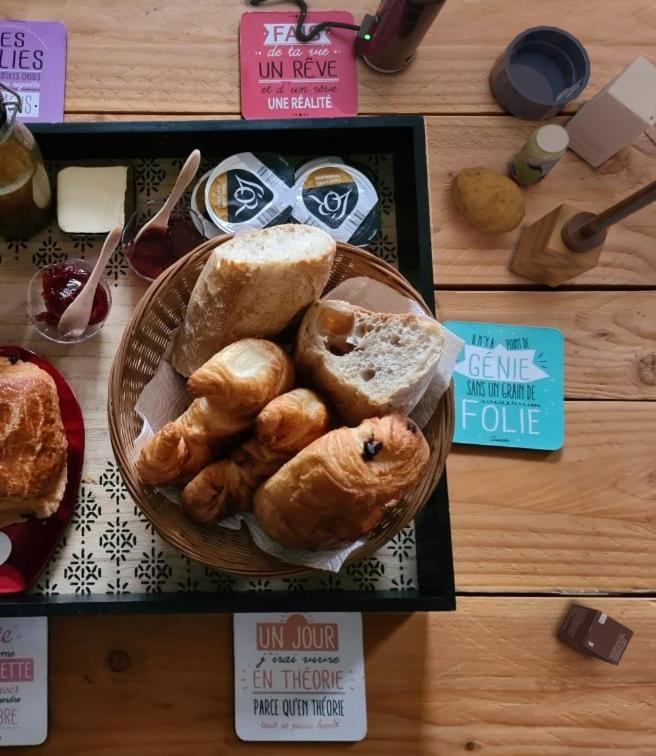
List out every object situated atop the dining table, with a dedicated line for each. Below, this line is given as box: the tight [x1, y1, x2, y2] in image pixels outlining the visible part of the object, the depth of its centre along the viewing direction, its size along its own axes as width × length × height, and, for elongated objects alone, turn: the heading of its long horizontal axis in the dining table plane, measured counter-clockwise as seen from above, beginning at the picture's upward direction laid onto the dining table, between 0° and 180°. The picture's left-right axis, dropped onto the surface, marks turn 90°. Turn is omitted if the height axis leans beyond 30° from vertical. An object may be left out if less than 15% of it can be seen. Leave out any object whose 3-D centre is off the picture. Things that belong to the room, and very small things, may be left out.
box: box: [556, 603, 635, 666], centre depth 114 cm, size 6×6×7 cm
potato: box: [450, 165, 527, 235], centre depth 123 cm, size 10×13×9 cm
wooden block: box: [509, 202, 611, 288], centre depth 120 cm, size 8×8×12 cm
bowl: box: [490, 25, 591, 121], centre depth 128 cm, size 15×15×6 cm
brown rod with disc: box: [561, 179, 656, 253], centre depth 104 cm, size 6×6×22 cm
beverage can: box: [510, 123, 570, 186], centre depth 123 cm, size 6×7×12 cm
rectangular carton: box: [563, 54, 656, 168], centre depth 122 cm, size 9×9×15 cm
